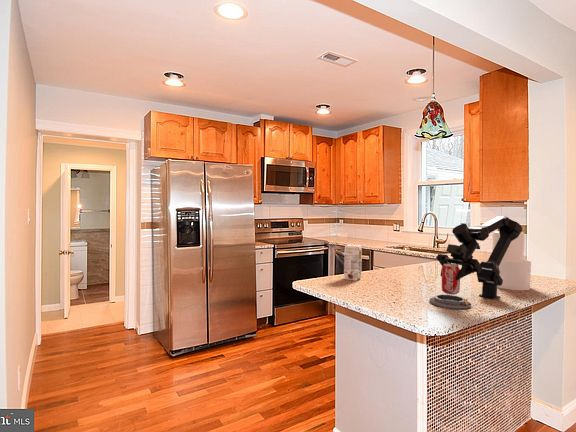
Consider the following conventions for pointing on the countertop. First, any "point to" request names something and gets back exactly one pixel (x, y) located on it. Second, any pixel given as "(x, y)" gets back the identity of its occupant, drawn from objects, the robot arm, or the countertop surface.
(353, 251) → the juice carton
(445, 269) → the soda can
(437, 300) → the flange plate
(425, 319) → the countertop surface
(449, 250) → the robot arm
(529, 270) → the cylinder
